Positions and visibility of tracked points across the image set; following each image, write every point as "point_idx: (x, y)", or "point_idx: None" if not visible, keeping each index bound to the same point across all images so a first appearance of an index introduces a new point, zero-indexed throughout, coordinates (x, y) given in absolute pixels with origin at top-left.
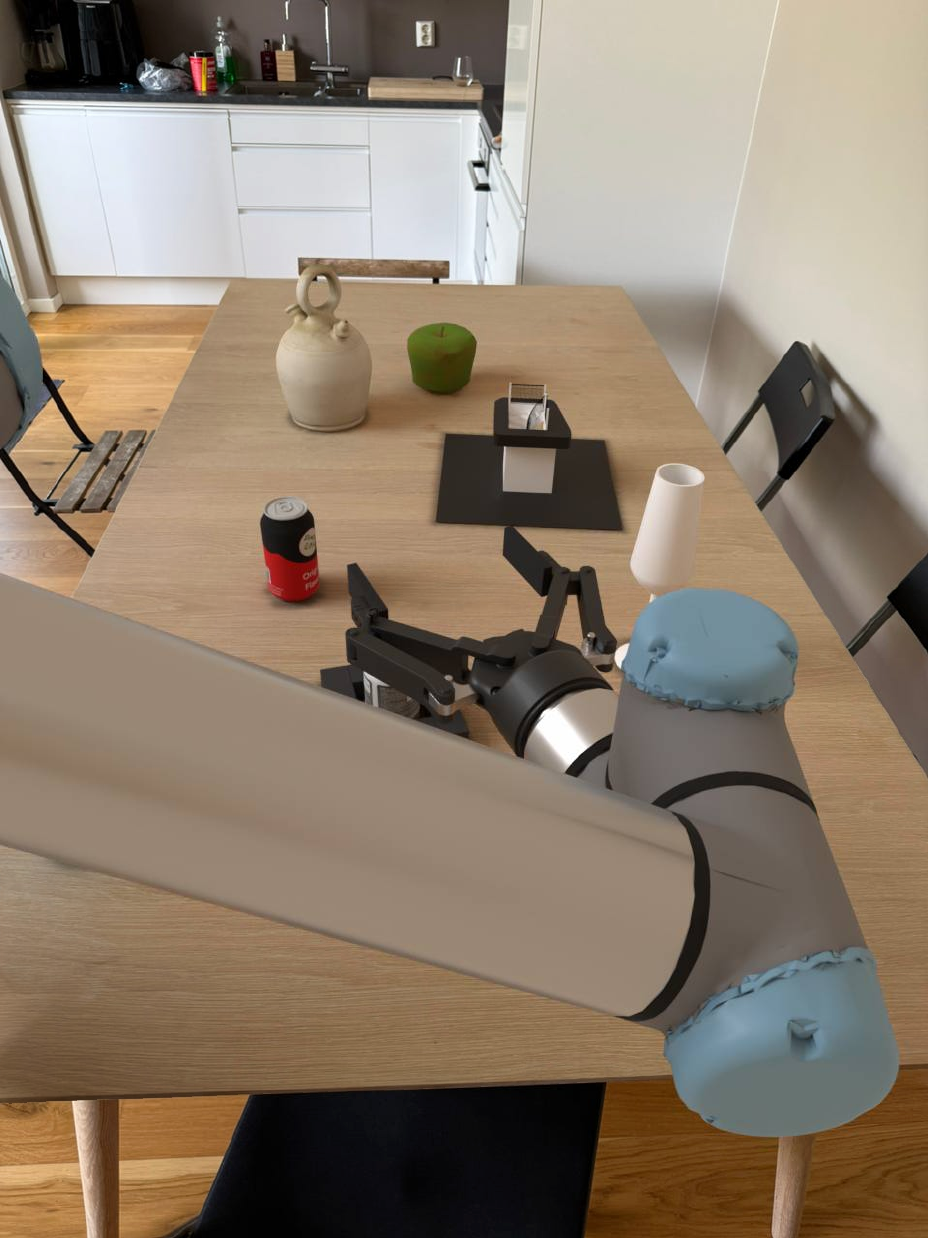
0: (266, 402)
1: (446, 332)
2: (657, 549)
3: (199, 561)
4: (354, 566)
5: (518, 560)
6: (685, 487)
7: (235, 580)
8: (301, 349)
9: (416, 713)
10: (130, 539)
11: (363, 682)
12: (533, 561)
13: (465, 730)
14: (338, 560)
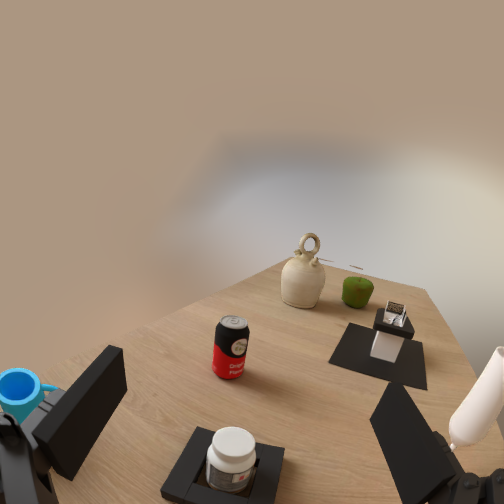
0: (275, 290)
1: (361, 280)
2: (478, 415)
3: (194, 338)
4: (112, 351)
5: (393, 440)
6: None
7: (202, 353)
8: (293, 266)
9: (240, 488)
10: (175, 317)
11: None
12: (424, 456)
13: None
14: (262, 365)
